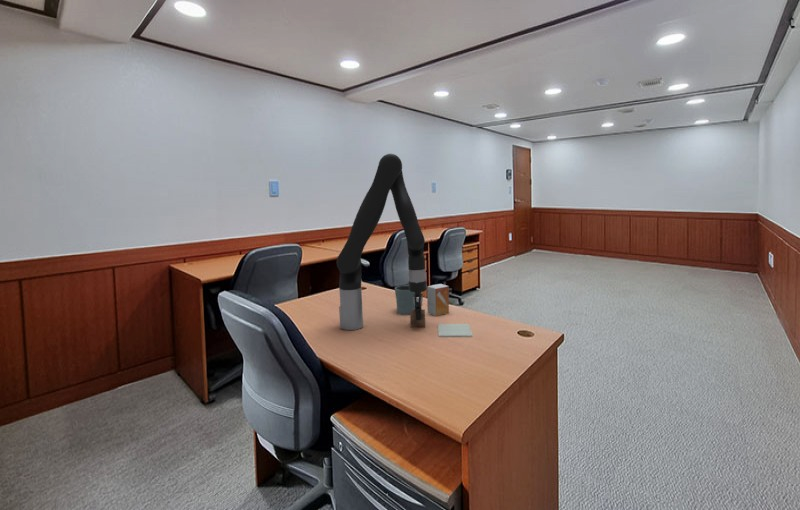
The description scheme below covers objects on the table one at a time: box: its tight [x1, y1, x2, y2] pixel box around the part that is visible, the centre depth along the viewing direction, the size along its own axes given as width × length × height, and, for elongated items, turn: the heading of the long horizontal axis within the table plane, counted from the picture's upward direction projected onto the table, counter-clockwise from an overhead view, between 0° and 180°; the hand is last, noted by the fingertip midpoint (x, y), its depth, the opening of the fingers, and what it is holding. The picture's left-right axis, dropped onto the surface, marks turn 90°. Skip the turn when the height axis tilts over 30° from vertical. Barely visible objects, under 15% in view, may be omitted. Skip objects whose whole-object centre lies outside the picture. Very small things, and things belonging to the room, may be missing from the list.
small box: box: [426, 283, 450, 317], centre depth 176 cm, size 8×6×13 cm
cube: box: [409, 309, 426, 329], centre depth 161 cm, size 6×6×6 cm
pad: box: [437, 323, 473, 338], centre depth 154 cm, size 13×13×1 cm
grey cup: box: [394, 284, 415, 316], centre depth 179 cm, size 10×10×12 cm
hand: (418, 316), depth 161 cm, fingers open, 8 cm apart
